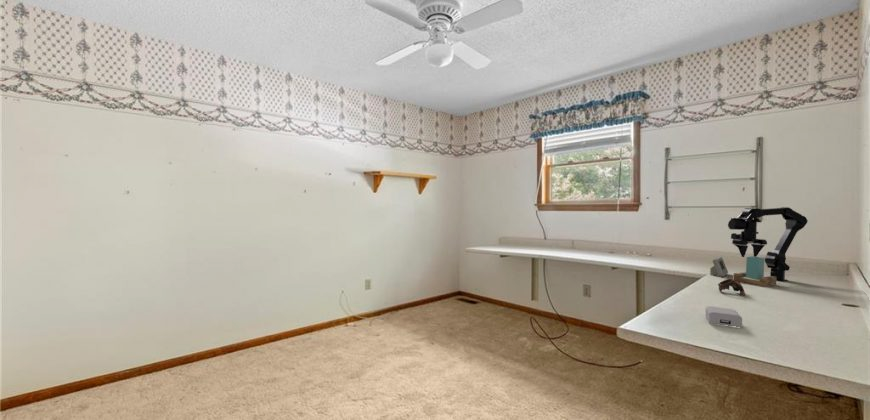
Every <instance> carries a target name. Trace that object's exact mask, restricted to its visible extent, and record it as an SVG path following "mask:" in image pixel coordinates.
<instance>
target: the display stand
mask: <svg viewBox="0 0 870 420" xmlns="http://www.w3.org/2000/svg"><path fill="white" fill-rule="evenodd" d="M733 279H734V280H737V281H739V282H740V284H747V285H751V286H752V285H753V286H758V287H762V288H763V287H764V288H765V287H772V286H776V285H777V277H776V276H770V275H769V276H764V277H760V279H759V280H757V279H752V278H746V271H741V272H735V273H733Z"/></svg>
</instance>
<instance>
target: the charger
mask: <svg viewBox="0 0 870 420" xmlns="http://www.w3.org/2000/svg"><path fill="white" fill-rule="evenodd" d="M705 318H706V320H707V321H708V323H709V324H710V323H712V324H719V325H728V326H736V327H742V326H743V317H742V316H741V315H740V314H739V313H738V311H737V310H736V309H733V308H726V307H717V306H710V305H709V306H706V307H705ZM712 324H711V325H712ZM719 325H718V326H719Z"/></svg>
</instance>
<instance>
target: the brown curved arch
mask: <svg viewBox="0 0 870 420" xmlns="http://www.w3.org/2000/svg"><path fill="white" fill-rule="evenodd" d="M717 286H718V291H719V292H720V293H722V291H725V290H728V291H730V287H731V288H732V289H733V291H734V292H739V294H740V295H741V296H742V297H744V296H746V293H745V289H744V286H743V285H742V283H740V282H739V281H737V280H734V278H728V279H725V280H722V281H721V282H719V283H718V284H717Z"/></svg>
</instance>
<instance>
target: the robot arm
mask: <svg viewBox="0 0 870 420" xmlns="http://www.w3.org/2000/svg"><path fill="white" fill-rule="evenodd" d="M779 215H781V216H782V218H783V219H784V220H785V223H784V225H785V230H784V232H783V234H782V235H781V237H780V239H779V240H778V243H776V244H777V245H776V246H775V248H774V249H773V250H772V251H767V253H766V255H765V256H764V257H763V258H764V264H766V267H767V269H770V272H769V273H770V275H769V276H776V277H777V281H781V282H782V281H786V282H787V281H789V280H788V279H786V271H787V272H788V271H790V268H791V267H790V266H789V265H788V264H787V263H786V261H787V258H786V253H787V251H788V250H789V248H790V246H791V245H792V242H793V240H794V239H795V237H796V235H797V234H798V232H799V231H800V230H802V229H803V228H805V226H806V225H807V224H808V219H807V217H806V216H804V215H803V214H802V213H799V212H797V211H795V210H793V209H792V208H791V207H788V206H787V207H786V206H784V207H775V208H772V207H771V208H757V207H756V208H751V207H750V208H749V207H745V208H744V209H743V210H742V212H741V213H740V214H739V215H738V216H737V218H736V217H730V220H729V221H728V223H727V226H728V229H729V230H738V231H739V230H741V231H740V233H731V235H730V239H731V240H732V241H731V242H732V243H731V244H732V245H734V246H735V247H737V248H738V251H739V253H740V256H741V257H742V258H745V255H746V253H747V250H748V247H749V244H750V245H751V246H752V249H753V250H752V251H753V252H752V253H753V257H758V255H759V254H760V252H761V251H762V250H763V248H764V247H765V246H766V245H768V241H767V239H763V238H757V235H759V231H758V230H757V229H758V228H757V227H758V223H762V221H761V220H760V219H759V218H762V217H764V216H765V217H766V216H779ZM742 230H743V231H742ZM777 281H776V282H777Z"/></svg>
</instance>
